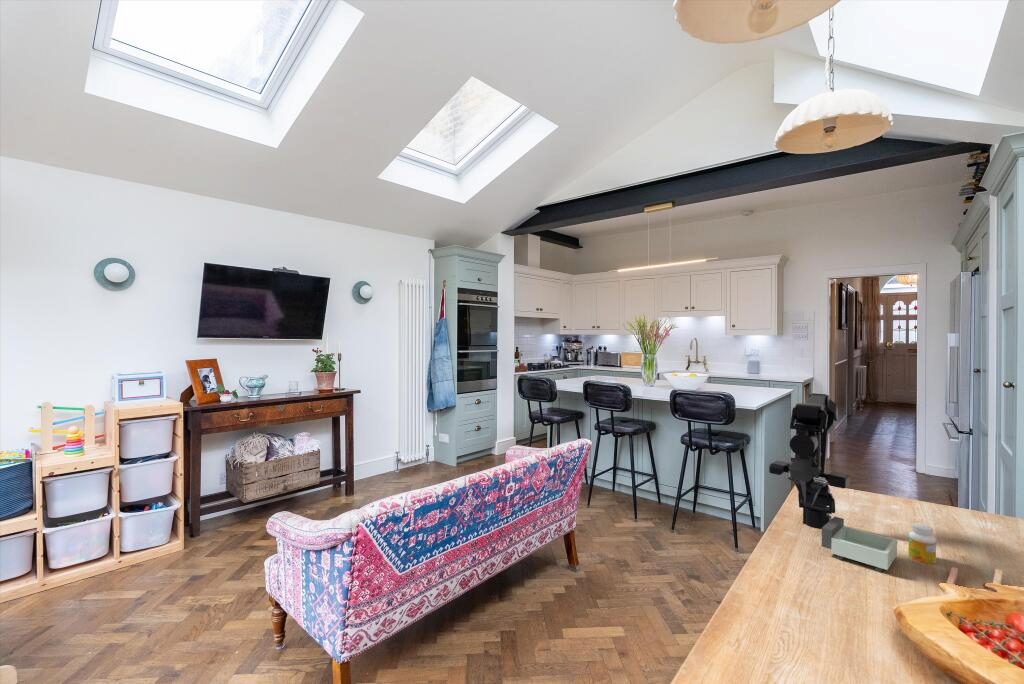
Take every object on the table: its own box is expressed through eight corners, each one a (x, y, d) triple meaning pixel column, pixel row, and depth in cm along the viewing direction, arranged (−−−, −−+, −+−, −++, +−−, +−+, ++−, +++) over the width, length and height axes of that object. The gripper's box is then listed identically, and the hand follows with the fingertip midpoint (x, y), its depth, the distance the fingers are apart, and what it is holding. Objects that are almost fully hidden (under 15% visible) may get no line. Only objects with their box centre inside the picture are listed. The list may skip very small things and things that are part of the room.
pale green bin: (821, 554, 123) (821, 527, 123) (834, 541, 131) (834, 516, 131) (887, 574, 113) (887, 545, 113) (896, 559, 120) (897, 532, 120)
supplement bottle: (902, 558, 124) (903, 522, 123) (922, 557, 124) (922, 521, 124) (921, 568, 118) (921, 530, 118) (941, 568, 118) (942, 530, 118)
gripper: (761, 447, 132) (761, 501, 132) (839, 461, 118) (839, 521, 118) (776, 441, 139) (775, 492, 140) (851, 453, 125) (850, 510, 126)
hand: (807, 503), depth 130 cm, fingers closed
